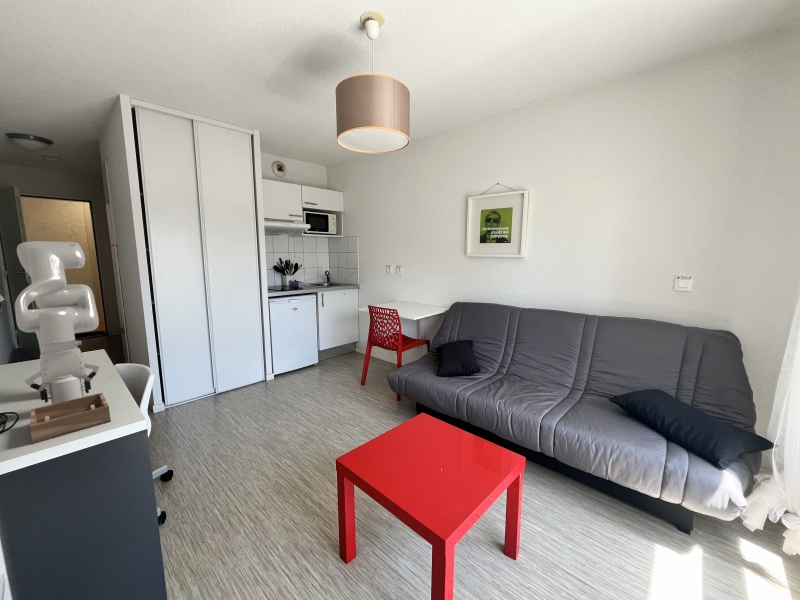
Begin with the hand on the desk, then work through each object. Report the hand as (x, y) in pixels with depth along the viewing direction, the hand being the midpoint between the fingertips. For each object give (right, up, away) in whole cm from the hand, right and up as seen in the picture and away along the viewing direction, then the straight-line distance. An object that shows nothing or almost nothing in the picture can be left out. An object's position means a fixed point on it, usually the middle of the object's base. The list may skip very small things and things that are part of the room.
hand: (67, 396), depth 109 cm
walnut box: (+12, -5, -10) cm, 16 cm away
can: (0, -4, +1) cm, 4 cm away
